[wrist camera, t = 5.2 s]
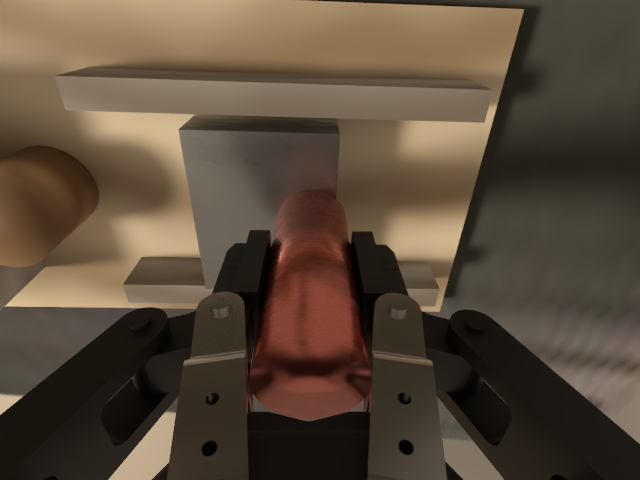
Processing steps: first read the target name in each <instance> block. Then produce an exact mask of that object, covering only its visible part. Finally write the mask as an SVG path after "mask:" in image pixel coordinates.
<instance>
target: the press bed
mask: <svg viewBox="0 0 640 480" xmlns="http://www.w3.org/2000/svg"><path fill="white" fill-rule="evenodd" d="M523 12H524V9H507V8H482V7H457V6H432V5H407V4H382V3H357V2H332V1H307V0H0V160H2V159H4V158H6V157H8V156H10V155H12V154H14V153H16V152H18V151H20V150H22V149H24V148H27V147H30V146H40V145H41V146H49V147H53V148H57V149H59V150H62V151H64V152H66V153H68V154H70V155H71V156H73V157H74V158H76V159H77V160H78V161H80V162H81V163H82V164H83V165H84V166H85V167H86V168H87V169H88V171H89V172H90V173H91V175H92V176H93V178H94V180H95V182H96V184H97V187H98V191H99V202H98V205H97V208H96V209H95V211H94V212H93V213H92V214H91V215H90V216H89V217H88V218H87V219H86V220H85V221H84V222H83V223H81V224H80V225H79V226H78V227H77V228H76V229H75V230H74V231H73V232H72V233H71V234H70V235H69V236H68V237H66V238H65V239H64V240H63V241H62V242H61V243H60V244H59V245H58V246H57V247H56V248H55V249H54V250H53V251H51V252H50V253H49V254H48V255H47V256H46V257H45V258H44V259H43V260H41V261H40V262H39V263H36V264H34V265H31V266H26V267H9V266H3V265H0V310H1V309H2V308H3V307H5V306H23V307H106V308H145V307H154V308H189V309H197V306H198V304H199V303H200V301H202V300H203V299H204V298H205V297H207V296H209V295H211V294H212V292H213V289H206V287H205V281H204V275H203V269H202V264H201V258H200V252H199V246H198V240H197V235H196V229H195V223H194V217H193V212H192V206H191V200H190V194H189V188H188V183H187V177H186V171H185V165H184V159H183V154H182V148H181V142H180V136H179V130H178V129H180V128H181V127H182V126H183V125H184V124H185V123H186V122H187V121H188V120H190V119H191V118H192V117H193V116H194V115H195V114H204V115H238V116H272V117H306V118H337V122H338V126H339V131H340V146H339V162H338V178H337V194H336V199H337V200H338V201H339V202H340V203H341V205H342V206H343V208H344V211H345V214H346V219H347V225H348V232H349V238H350V244H351V236H352V231H372V232H373V236H374V240H375V243H376V245H387V246H388V247H389V248H390V249H391V250H392V251H393V252H394V253H395V256H396V259H397V263H398V265H399V268H400V271H401V274H402V277H403V280H404V283H405V286H406V289H407V292H408V295H409V297H411V298H412V299H414V300H415V301H416V302H417V303H418V304H419V305H420V308H421V311H437V312H439V311H440V308H441V304H442V301H443V297H444V294H445V290H446V287H447V283H448V279H449V276H450V272H451V269H452V265H453V262H454V258H455V254H456V251H457V247H458V244H459V240H460V237H461V233H462V229H463V226H464V222H465V219H466V215H467V212H468V208H469V204H470V201H471V197H472V194H473V190H474V187H475V183H476V180H477V176H478V172H479V169H480V165H481V162H482V158H483V155H484V151H485V147H486V144H487V140H488V137H489V133H490V130H491V126H492V122H493V119H494V115H495V112H496V108H497V105H498V101H499V97H500V94H501V90H502V87H503V83H504V80H505V76H506V72H507V69H508V65H509V62H510V58H511V55H512V51H513V48H514V44H515V40H516V37H517V33H518V30H519V26H520V23H521V19H522V15H523Z"/></svg>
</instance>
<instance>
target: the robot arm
mask: <svg viewBox="0 0 640 480" xmlns="http://www.w3.org/2000/svg"><path fill="white" fill-rule="evenodd" d="M271 247H272V246H271V232H270V230H250V231H249V235H248V238H247V242H246V243H235V244H234V245H233V246H232V247H231V248H230V249H228V250H227V252H226V255H225V258H224V262H223V264H222V266H221V269H220V272H219V275H218V278H217V281H216V283H215V286H214V289H213V292H212V294H211V295H209V296H207V297H205V298H204V299H203V300H202V301H200V303H199V304H198V306H197V309H196V311H194V312H192V313H189V314H185V315H181V316H176V317H172V318H167V315H166V313H165V312H164V311H163V310H161V309H159V308H154V307H145V308H140V309H137V310H134V311H131V312H129V313H128V314H126V315H124V316H123V317H122V318H120V319H119V320H118V321H117V322H115V323H114V324H113V325H112V326H110V327H109V328H108V329H107V330H106V331H104V332H103V333H102V334H101V335H99V336H98V337H97V338H96V339H94V340H93V341H92V342H91V343H89V344H88V345H87V346H86V347H84V348H83V349H82V350H81V351H79V352H78V353H77V354H76V355H74V356H73V357H72V358H71V359H69V360H68V361H67V362H66V363H65V364H63V365H62V366H61V367H60V368H58V369H57V370H56V371H55V372H53V373H52V374H51V375H50V376H48V377H47V378H46V379H45V380H43V381H42V382H41V383H40V384H38V385H37V386H36V387H35V388H33V389H32V390H31V391H30V392H28V393H27V394H26V395H25V396H24V397H22V398H21V399H20V400H19V401H18V402H16V403H15V404H14V405H12V406H11V407H10V408H9V409H7V410H6V411H5V412H4V413H2V414H1V415H0V480H108V479H109V478H110V477H111V475H112V474H113V473H114V472H115V471H116V469H117V468H118V467H119V466H120V465H121V464H122V462H123V461H124V460H125V459H126V458H127V456H128V455H129V454H130V453H131V452H132V450H133V449H134V448H135V447H136V446H137V444H138V443H139V442H140V441H141V440H142V438H143V437H144V436H145V435H146V434H147V433H148V431H149V430H150V429H151V428H152V427H153V425H154V424H155V423H156V422H157V421H158V419H159V418H160V417H161V416H162V415H163V414H164V412H165V411H166V410H167V409H168V408H169V406H170V405H171V404H172V403H173V402H174V400H175V399H176V398H177V397H178V396H179V397H178V404H177V411H176V418H175V426H174V432H173V439H172V447H171V454H170V460H169V463H168V464H167V465H166V466H165V467H164V468H163V469H162V470H161V471H160V472H159V473H158V474H157V475H156V476H155V477H154V478H153V479H152V480H463V479H462V478H461V477H460V476H459V475H458V474H457V473H456V472H455V471H454V470H453V469H452V468H451V467H450V466H449V465H448V464H447V463H446V462H445V458H444V450H443V441H442V433H441V425H440V417H439V408H438V400H437V396H438V398H439V399H440V400H441V401H442V403H443V404H444V405H445V406H446V408H447V409H448V410H449V411H450V412H451V414H452V415H453V416H454V417H455V419H456V420H457V421H458V422H459V424H460V425H461V426H462V427H463V429H464V430H465V431H466V432H467V434H468V435H469V436H470V437H471V439H472V440H473V441H474V442H475V444H477V446H478V447H479V448H480V450H481V451H482V452H483V453H484V455H485V456H486V457H487V458H488V460H489V461H490V462H491V463H492V465H493V466H494V467H495V468H496V470H497V471H498V472H499V473H500V474H501V476H502V477H503V478H504V480H640V444H639V443H638V442H636V441H635V440H634V439H633V438H632V437H631V436H629V435H628V434H627V433H626V432H625V431H624V430H622V429H621V428H620V427H619V426H618V425H617V424H615V423H614V422H613V421H612V420H611V419H609V418H608V417H607V416H606V415H605V414H604V413H602V412H601V411H600V410H599V409H598V408H597V407H595V406H594V405H593V404H592V403H591V402H589V401H588V400H587V399H586V398H585V397H584V396H582V395H581V394H580V393H579V392H578V391H577V390H575V389H574V388H573V387H572V386H571V385H569V384H568V383H567V382H566V381H565V380H564V379H562V378H561V377H560V376H559V375H558V374H556V373H555V372H554V371H553V370H552V369H551V368H549V367H548V366H547V365H546V364H545V363H544V362H542V361H541V360H540V359H539V358H538V357H536V356H535V355H534V354H533V353H532V352H531V351H529V350H528V349H527V348H526V347H525V346H524V345H522V344H521V343H520V342H519V341H518V340H516V339H515V338H514V337H513V336H512V335H511V334H509V333H508V332H507V331H506V330H505V329H504V328H502V327H501V326H500V325H499V324H498V323H496V322H495V321H494V320H493V319H492V318H490V317H489V316H487V315H485V314H483V313H481V312H478V311H474V310H460V311H457V312H455V313H454V314H453V315H452V316H451V318H450V320H449V319H445V318H440V317H436V316H433V315H429V314H427V313H425V312H423V311H421V308H420V305H419V304H418V303H417V302H416V301H415V300H414V299H412V298H411V297H409V295H408V292H407V289H406V286H405V283H404V280H403V277H402V274H401V271H400V268H399V265H398V263H397V259H396V256H395V253H394V252H393V251H392V250H391V249H390V248H389V247H388V246H387V245H376V243H375V240H374V236H373V232H372V231H352V236H351V250H352V256H353V262H354V268H355V275H356V281H357V287H358V293H359V299H360V305H361V311H362V318H363V324H364V330H365V336H366V342H367V348H368V354H369V360H370V373H369V382H368V389H367V395H366V397H365V398H364V408H363V412H346V413H342V414H338V415H334V416H330V417H327V418H323V419H319V420H315V421H302V420H299V419H295V418H291V417H287V416H283V415H279V414H275V413H271V412H254V407H253V393H252V390H251V388H250V383H249V376H250V370H251V359H252V354H253V348H254V347H255V341H256V335H257V329H258V323H259V317H260V312H261V306H262V300H263V294H264V288H265V282H266V276H267V271H268V265H269V259H270V253H271ZM131 378H132V379H131ZM130 379H131V380H130ZM129 380H130V381H129ZM484 380H485V381H486V382H487V383H488V384H489V385H490V386H491V387H492V388H493V389H494V391H495V392H496V393H497V394H498V395H499V396H500V397H501V398H502V399H503V400H504V401H505V402H506V403H507V404H506V403H505V402H504V401H503V400H502V399H501V398H500V397H499V396H498V395H497V394H496V393H495V392H494V391H493V390H492V389H491V388H490V387H489V385H488V384H487V383H486V382H485V381H484ZM128 381H129V382H128ZM127 382H128V383H127ZM126 383H127V384H126ZM125 384H126V385H125ZM124 385H125V386H124ZM123 386H124V387H123ZM122 387H123V388H122ZM121 388H122V389H121ZM120 389H121V390H120ZM119 390H120V391H119ZM118 391H119V392H118ZM117 392H118V393H117ZM116 393H117V394H116ZM114 394H116V395H115V396H114V397H113V398H112V399H111V400H110V401H109V399H110V398H111V397H112V396H113V395H114ZM108 401H109V402H108ZM107 402H108V403H107Z"/></svg>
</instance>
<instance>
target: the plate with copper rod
mask: <svg viewBox="0 0 640 480" xmlns="http://www.w3.org/2000/svg"><path fill="white" fill-rule="evenodd" d="M178 130H179V136H180V142H181V148H182V154H183V159H184V165H185V171H186V177H187V183H188V188H189V194H190V200H191V206H192V212H193V217H194V223H195V229H196V235H197V240H198V246H199V252H200V258H201V264H202V269H203V275H204V281H205V287H206V289H214V286H215V283H216V281H217V278H218V275H219V272H220V269H221V266H222V264H223V262H224V258H225V255H226V252H227V250H228V249H230V248H231V247H232V246H233V245H234V244H235V243H246V242H247V238H248V235H249V231H250V230H270V232H271V246H272V247H271V253H270V259H269V265H268V271H267V276H266V282H265V288H264V294H263V300H262V306H261V312H260V317H259V323H258V329H257V335H256V341H255V347H254V353H253V358H252V364H251V370H250V376H249V383H250V388H251V390H252V393H253V394H254V396H255V397H256V398H257V399H258V400H259V402H261V403H262V404H263V405H264V406H266V407H267V408H269V409H271V410H273V411H275V412H277V413H280V414H283V415H286V416H290V417H295V418H306V419H315V418H325V417H330V416H334V415H338V414H340V413H343V412H346V411H348V410H350V409H351V408H353V407H355V406H356V405H357V404H359V403H360V402H361V401H362V400H363V399H364V398H365V397H366V395H367V389H368V382H369V373H370V360H369V354H368V348H367V342H366V336H365V330H364V324H363V318H362V311H361V305H360V299H359V293H358V287H357V281H356V275H355V268H354V262H353V256H352V250H351V244H350V238H349V232H348V225H347V219H346V214H345V211H344V208H343V206H342V205H341V203H340V202H339V201H338V200H337V199H336V194H337V178H338V162H339V146H340V131H339V126H338V122H337V118H306V117H272V116H238V115H204V114H195V115H194V116H193V117H192V118H191V119H190V120H188V121H187V122H186V123H185V124H184V125H183V126H182V127H181V128H180V129H178Z"/></svg>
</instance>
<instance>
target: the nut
mask: <svg viewBox="0 0 640 480" xmlns="http://www.w3.org/2000/svg"><path fill="white" fill-rule="evenodd" d="M98 202H99V191H98V187H97V184H96V182H95V180H94V178H93V176H92V175H91V173H90V172H89V171H88V169H87V168H86V167H85V166H84V165H83V164H82V163H81V162H80V161H78V160H77V159H76V158H74V157H73V156H71V155H70V154H68V153H66V152H64V151H62V150H59V149H57V148H53V147H49V146H41V145H40V146H30V147H27V148H24V149H22V150H20V151H18V152H16V153H14V154H12V155H10V156H8V157H6V158H4V159H2V160H0V265H3V266H9V267H26V266H31V265H34V264H36V263H39V262H40V261H41V260H43V259H44V258H45V257H46V256H47V255H48V254H49V253H50V252H51V251H53V250H54V249H55V248H56V247H57V246H58V245H59V244H60V243H61V242H62V241H63V240H64V239H65V238H66V237H68V236H69V235H70V234H71V233H72V232H73V231H74V230H75V229H76V228H77V227H78V226H79V225H80V224H81V223H83V222H84V221H85V220H86V219H87V218H88V217H89V216H90V215H91V214H92V213H93V212H94V211H95V209H96V208H97V205H98Z"/></svg>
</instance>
